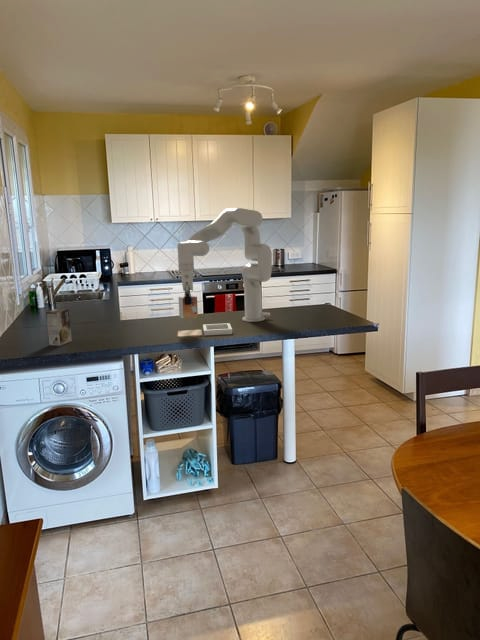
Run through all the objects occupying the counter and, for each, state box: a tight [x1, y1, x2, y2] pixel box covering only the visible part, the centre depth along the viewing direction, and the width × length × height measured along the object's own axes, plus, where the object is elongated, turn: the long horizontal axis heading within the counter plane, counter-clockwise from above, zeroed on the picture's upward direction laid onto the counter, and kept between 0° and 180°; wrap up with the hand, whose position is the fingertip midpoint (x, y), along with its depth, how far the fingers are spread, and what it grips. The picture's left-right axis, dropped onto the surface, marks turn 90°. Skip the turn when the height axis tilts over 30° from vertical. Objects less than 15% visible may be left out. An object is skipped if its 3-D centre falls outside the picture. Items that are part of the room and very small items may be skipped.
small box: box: [178, 294, 199, 320], centre depth 241 cm, size 8×6×10 cm
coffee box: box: [45, 308, 73, 347], centre depth 232 cm, size 9×6×16 cm
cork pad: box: [177, 329, 203, 338], centre depth 244 cm, size 12×12×1 cm
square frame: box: [202, 322, 233, 336], centre depth 247 cm, size 14×14×2 cm
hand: (188, 303), depth 240 cm, fingers closed on small box, 7 cm apart
